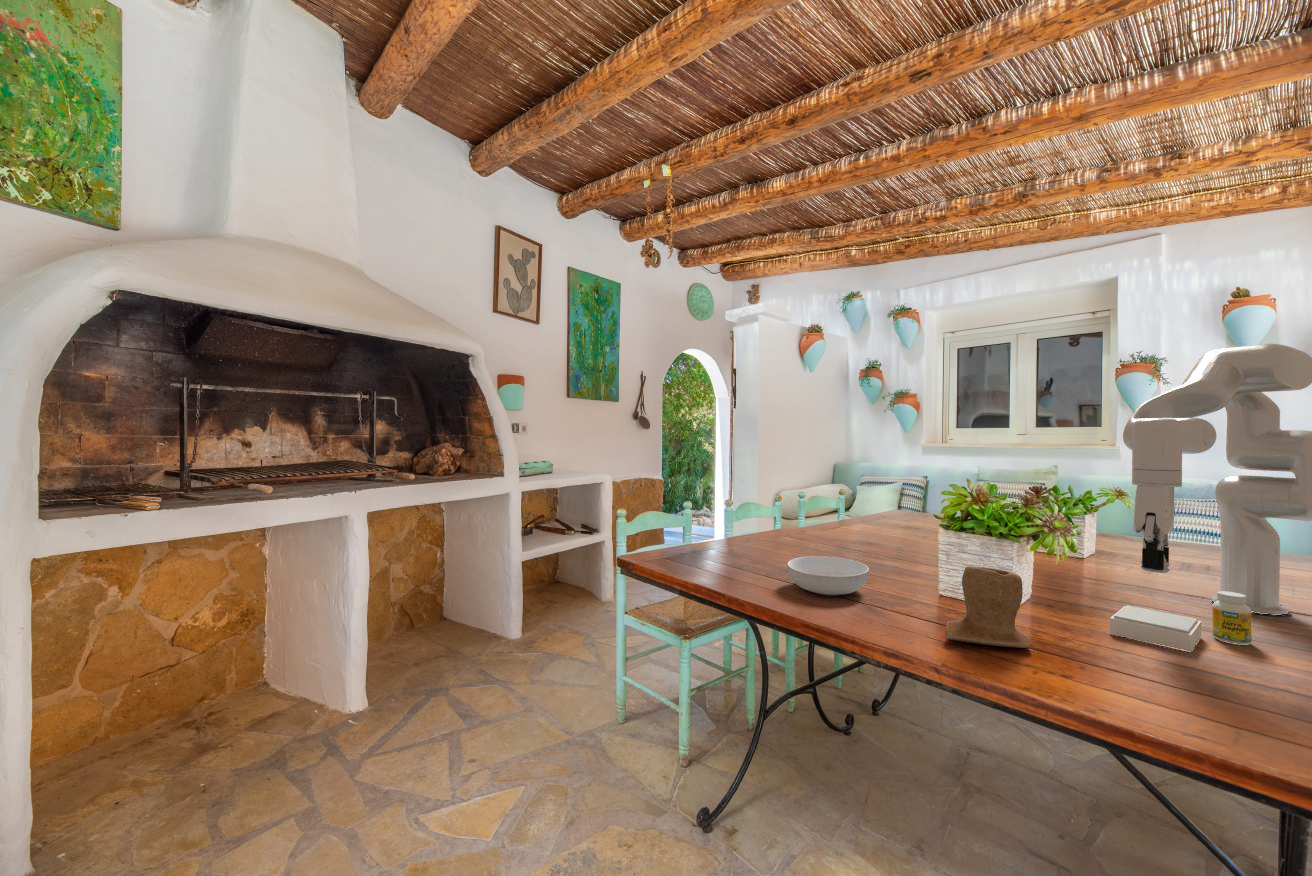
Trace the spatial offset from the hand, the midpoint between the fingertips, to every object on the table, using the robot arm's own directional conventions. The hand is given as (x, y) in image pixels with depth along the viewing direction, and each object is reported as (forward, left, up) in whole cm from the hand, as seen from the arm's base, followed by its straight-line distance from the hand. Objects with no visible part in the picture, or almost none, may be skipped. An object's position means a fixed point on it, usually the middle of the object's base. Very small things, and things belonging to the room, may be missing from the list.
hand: (1155, 566), depth 110 cm
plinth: (0, 0, -15) cm, 15 cm away
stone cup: (+30, -21, -15) cm, 40 cm away
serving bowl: (+25, -61, -15) cm, 68 cm away
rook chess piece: (0, 0, -1) cm, 1 cm away
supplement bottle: (-9, +10, -15) cm, 20 cm away
